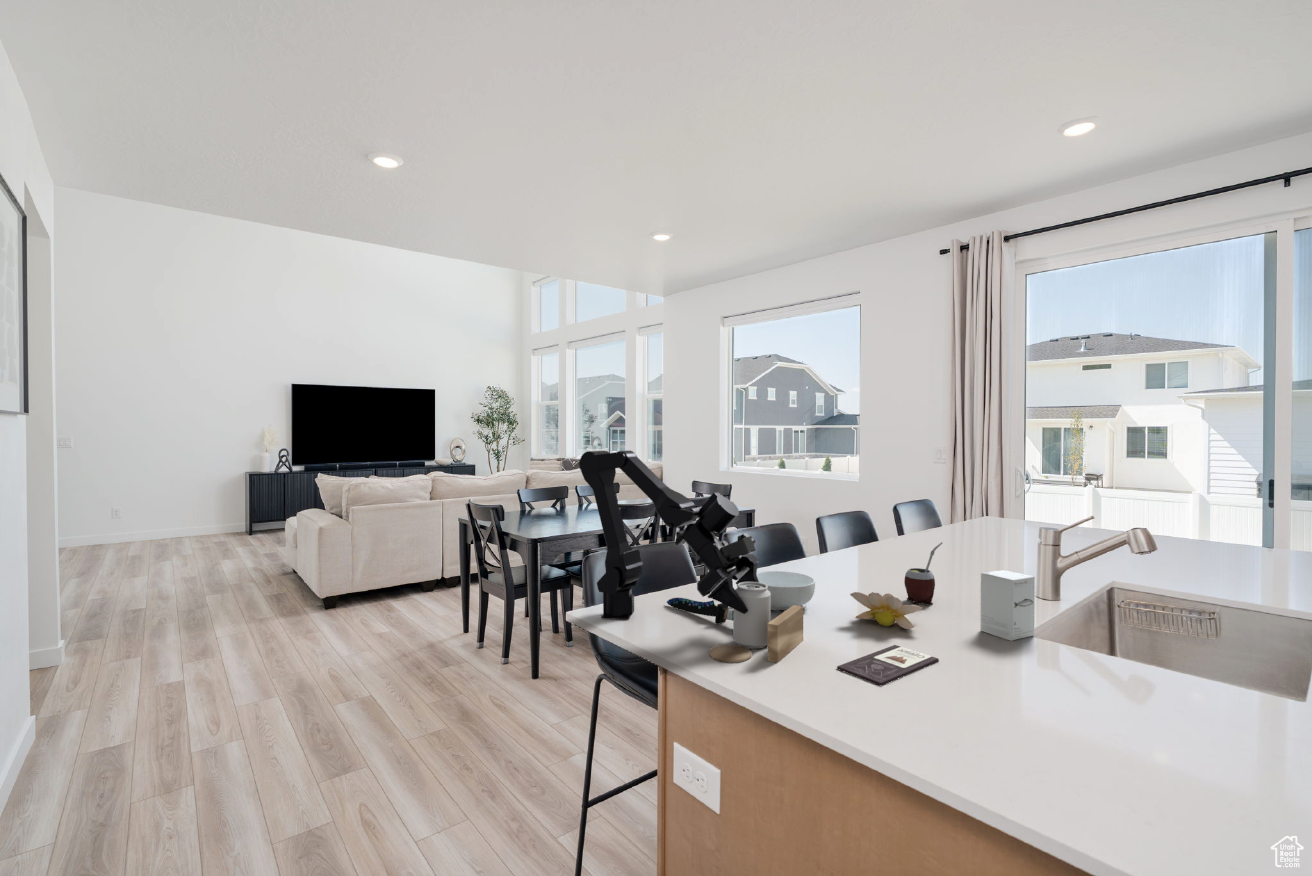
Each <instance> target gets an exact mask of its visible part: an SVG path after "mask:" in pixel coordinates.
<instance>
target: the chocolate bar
mask: <svg viewBox="0 0 1312 876" xmlns="http://www.w3.org/2000/svg"><path fill="white" fill-rule="evenodd" d="M939 661H940V659H939V658H938V657H935V656H932V655H928V654H925V653H921V652H918V651H915V650H913V649H910V648H906V647H903V646H900V645H897V644H894V645H891V646H888V647H886V648H883V649H880V650H877V651H875V652H871V653H870V654H867V655H864V656H861V657H859V658H856V659H853V660H851V661H847V662H845V663H843V664H840V665H837V666H836V670H838V669H840V670H839V671H840V672H843V671H845V672H844V673H846V674H849V675H851V674H852V675H851V676H854V677H856V676H857V678H859V679H861V678H862V680H865V681H867V682H869V681H870V682H869V683H871V684H874V683H875V685H878V686H879V685H883V686H885V685H887V684H890V683H892V682H894V681H897V680H898V678H899V679H901V678H903V676H904V677H905V676H909V675H910V674H914V673H915V671H916V672H917V671H920V670H923V669H924V667H925V668H927V667H929V665H930V666H933V665H934V664H937V663H939ZM908 674H909V675H908ZM891 681H892V682H891ZM889 682H890V683H889ZM886 683H887V684H886Z"/></svg>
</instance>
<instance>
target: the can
mask: <svg viewBox="0 0 1312 876" xmlns="http://www.w3.org/2000/svg"><path fill="white" fill-rule="evenodd" d="M767 588H768V586H767V585H766V584H763V583H759V582H741V583H738V584H736V588H735V591H736V592H737V594H738V595H739V597H740V598H741V600H742V601H743V602H744V604H745V606H746V607H747V609H748V612H747V613H746V614H743V613H741V612H739V611H737V610H735V609H733V608H732V609H733V620H732V622H733V623H732V624H733V625H732V626H733V627H732V629H733V631H732V634H733V635H732V637H733V638H732V640H733V641H734V642H735V643H736V644H737V645H738V646H742V647H745V648H747V649H753V650H754V649H757V650H758V649H762V648H765V647H766V646H768V623H769V622H770V621H772V620H771V611H772V609H771V593H770V592H769V591H768V590H767Z"/></svg>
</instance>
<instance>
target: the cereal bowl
mask: <svg viewBox="0 0 1312 876" xmlns="http://www.w3.org/2000/svg"><path fill="white" fill-rule="evenodd" d="M756 575H757V578H758V581H759V583H763V584H766V585H767V586H768V588H767V590H768V591H769V592H770V593H771V610H772V609H774V611H779V610H787V609H789V608H790V607H792V606H793V605H797V606H804V605H806V604H807V603H809V602H810V601H811V599H812V598H813V596H814V595H815V588H816V580H815V579H814V578H813V577H812V576H810V575H808V574H804V573H800V572H795V571H785V570H784V571H783V570H762V571H761V570H759V571H757V574H756Z"/></svg>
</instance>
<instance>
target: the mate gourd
mask: <svg viewBox="0 0 1312 876" xmlns="http://www.w3.org/2000/svg"><path fill="white" fill-rule="evenodd" d="M941 545H943V542H940V543H938V544H937V545H936V546H935V547H934V548H933V549H932V550H930V553H929V558H928V562H927V564H926V567H925V568H922V567H921V568H920V567H919V568H918V567H914V568H912V567H911V568H909V569H908V570H907V571H906V572H905V576H904V587H905V588H904V589H905V590H906V595H907V597H906V600H907V601H909V602H912V605H916V606H918V605H919V603H920V604H922V605H923V604H924V605H927V606H929V605H930V606H932V605H933V603H934V602H933V598H934V594H935V587H936V581H935V580H936V579H935V575H934V573H933V572H932V571H931V570H929V568H930V565H931V562H932V559H933V556H934V555H935V552H936V550H937V549H938V548H939V547H940V546H941ZM913 601H914V602H913Z"/></svg>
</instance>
